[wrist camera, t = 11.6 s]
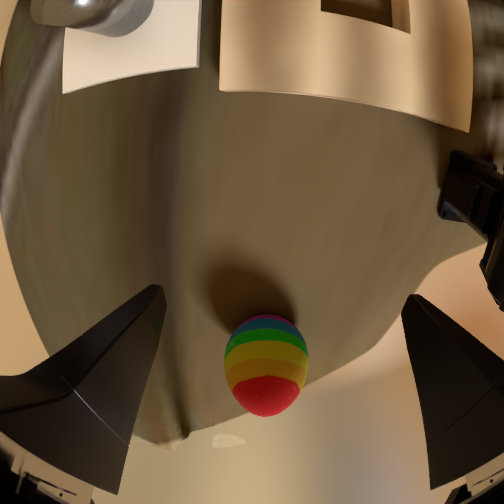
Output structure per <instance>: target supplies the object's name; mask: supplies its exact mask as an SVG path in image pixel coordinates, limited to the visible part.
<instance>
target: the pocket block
mask: <svg viewBox="0 0 504 504" xmlns="http://www.w3.org/2000/svg"><path fill="white" fill-rule="evenodd" d="M391 6H392V26H393V28H391V27H387V26H384V25H381V24H377V23H374V22H370V21H366V20H362V19H358V18H354V17H349V16H344V15H339V14H334V13H329V12H322V11H321V0H222V20H221V45H220V85H219V90H222V91H226V92H274V93H289V94H300V95H310V96H319V97H326V98H333V99H340V100H346V101H352V102H357V103H363V104H368V105H373V106H377V107H382V108H386V109H390V110H394V111H398V112H402V113H406V114H409V115H413V116H416V117H420V118H423V119H426V120H430V121H433V122H436V123H439V124H442V125H444V126H447V127H451V128H454V129H457V130H461V131H464V132H467V133H469V128H470V119H471V109H472V94H473V47H472V33H471V24H470V16H469V9H468V3H467V0H391Z"/></svg>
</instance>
